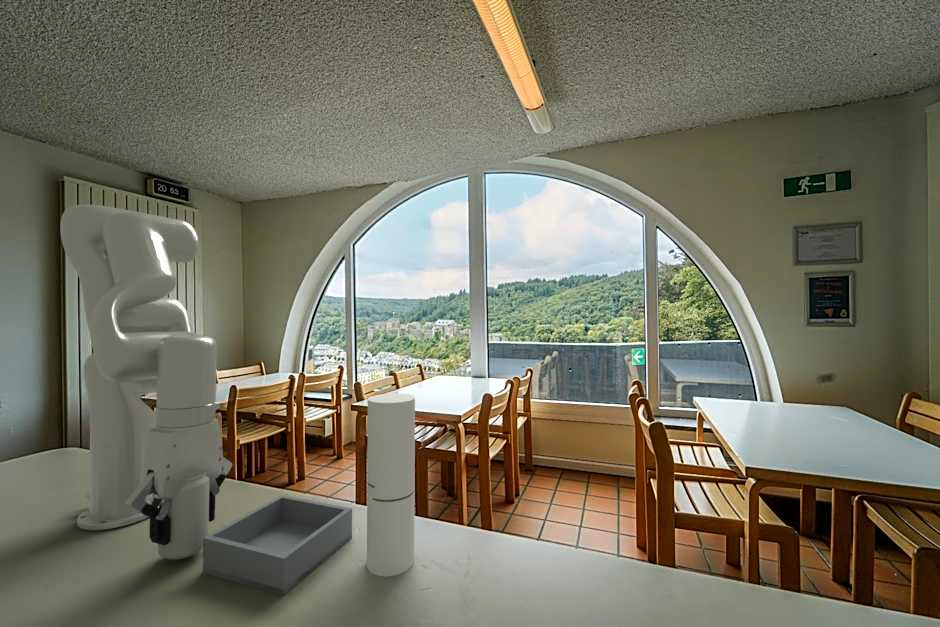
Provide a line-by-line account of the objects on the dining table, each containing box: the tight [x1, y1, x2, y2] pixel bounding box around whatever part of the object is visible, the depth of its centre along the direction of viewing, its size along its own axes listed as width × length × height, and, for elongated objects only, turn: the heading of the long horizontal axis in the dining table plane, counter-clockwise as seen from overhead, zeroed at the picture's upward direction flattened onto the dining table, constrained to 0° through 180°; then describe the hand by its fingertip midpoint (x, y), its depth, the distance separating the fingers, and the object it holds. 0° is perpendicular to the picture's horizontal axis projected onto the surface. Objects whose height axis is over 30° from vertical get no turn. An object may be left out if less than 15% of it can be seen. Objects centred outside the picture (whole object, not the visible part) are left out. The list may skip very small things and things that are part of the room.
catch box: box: [202, 494, 353, 597], centre depth 63 cm, size 15×15×5 cm
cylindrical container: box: [366, 393, 416, 578], centre depth 62 cm, size 7×7×25 cm
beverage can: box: [157, 473, 210, 560], centre depth 63 cm, size 6×6×12 cm
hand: (184, 529), depth 63 cm, fingers closed on beverage can, 6 cm apart
